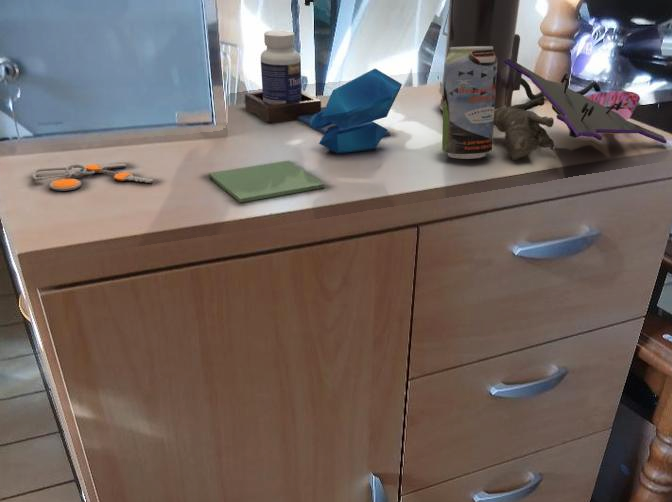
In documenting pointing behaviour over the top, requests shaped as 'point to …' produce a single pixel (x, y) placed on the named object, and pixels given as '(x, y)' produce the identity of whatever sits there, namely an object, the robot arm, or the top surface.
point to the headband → (617, 101)
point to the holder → (281, 107)
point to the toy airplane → (582, 110)
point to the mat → (265, 181)
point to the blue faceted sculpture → (357, 113)
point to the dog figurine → (523, 128)
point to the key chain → (74, 183)
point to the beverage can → (469, 101)
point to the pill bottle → (280, 68)
